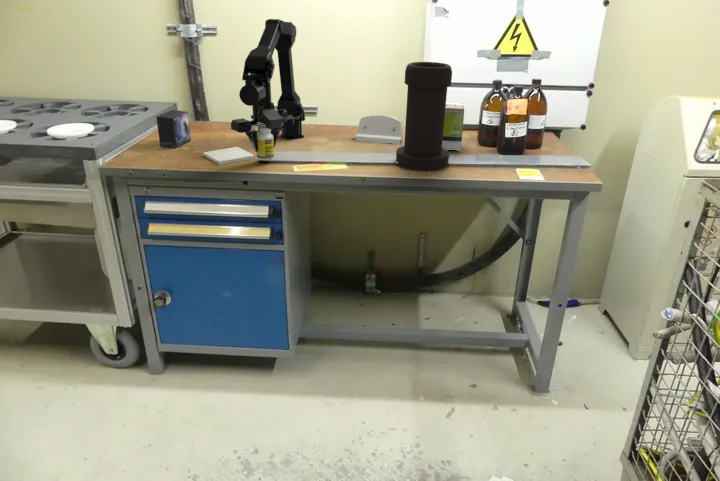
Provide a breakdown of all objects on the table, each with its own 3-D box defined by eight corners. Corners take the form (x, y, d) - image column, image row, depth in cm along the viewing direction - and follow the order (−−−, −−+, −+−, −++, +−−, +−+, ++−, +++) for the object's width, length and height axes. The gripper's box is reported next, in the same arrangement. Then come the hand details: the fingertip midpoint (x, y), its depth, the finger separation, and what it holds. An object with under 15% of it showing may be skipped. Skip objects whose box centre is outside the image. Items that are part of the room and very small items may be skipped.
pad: (237, 149, 178) (237, 146, 178) (254, 158, 170) (254, 155, 169) (203, 155, 171) (203, 152, 171) (219, 164, 163) (219, 161, 163)
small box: (177, 149, 178) (173, 117, 173) (159, 147, 179) (154, 116, 174) (192, 140, 187) (188, 110, 182) (175, 139, 188) (171, 109, 184)
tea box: (460, 144, 190) (464, 102, 184) (460, 152, 181) (465, 108, 175) (417, 142, 192) (420, 100, 185) (416, 149, 183) (419, 106, 176)
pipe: (448, 157, 175) (457, 62, 162) (447, 173, 161) (457, 69, 148) (398, 153, 178) (403, 59, 165) (393, 169, 163) (398, 67, 150)
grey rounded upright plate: (354, 140, 191) (357, 112, 190) (357, 142, 196) (359, 114, 195) (400, 144, 188) (403, 115, 187) (402, 145, 193) (405, 117, 191)
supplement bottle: (266, 161, 163) (264, 130, 158) (253, 158, 165) (251, 127, 161) (278, 157, 167) (276, 126, 163) (264, 154, 169) (262, 124, 165)
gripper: (245, 107, 148) (249, 161, 154) (302, 100, 158) (304, 151, 165) (227, 100, 155) (232, 152, 162) (283, 93, 166) (285, 142, 173)
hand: (264, 149), depth 165 cm, fingers closed on supplement bottle, 5 cm apart
